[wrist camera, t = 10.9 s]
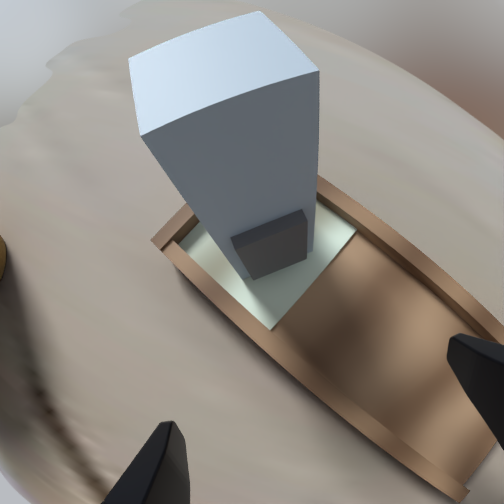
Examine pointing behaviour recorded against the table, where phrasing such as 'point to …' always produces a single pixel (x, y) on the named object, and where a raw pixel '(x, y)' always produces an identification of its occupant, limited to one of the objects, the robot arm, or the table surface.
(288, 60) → the pale blue tall block
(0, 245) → the plant pot
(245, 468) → the table surface
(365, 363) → the rail board
